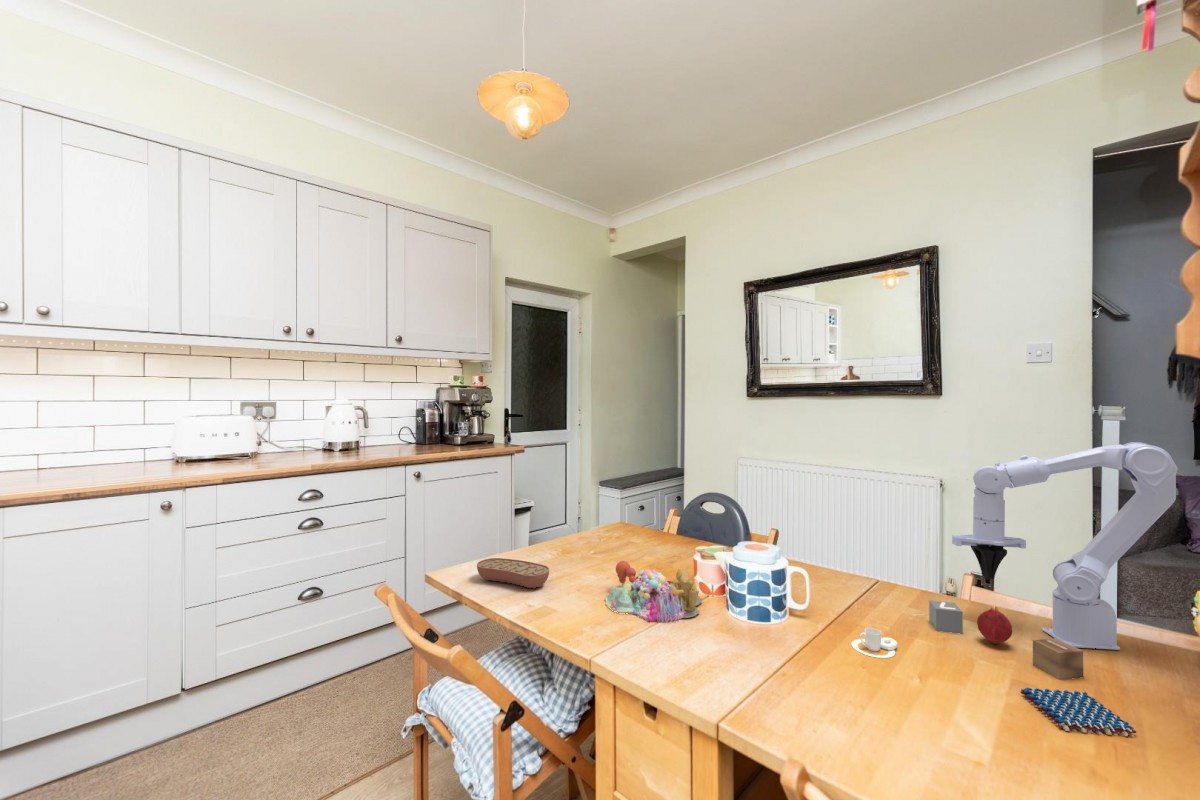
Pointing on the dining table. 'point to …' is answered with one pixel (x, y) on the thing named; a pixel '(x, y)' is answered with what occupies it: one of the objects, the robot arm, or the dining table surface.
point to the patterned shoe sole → (513, 572)
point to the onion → (994, 626)
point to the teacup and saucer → (875, 643)
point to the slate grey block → (946, 616)
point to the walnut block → (1058, 658)
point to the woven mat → (1077, 712)
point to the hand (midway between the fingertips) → (988, 577)
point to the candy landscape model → (654, 595)
